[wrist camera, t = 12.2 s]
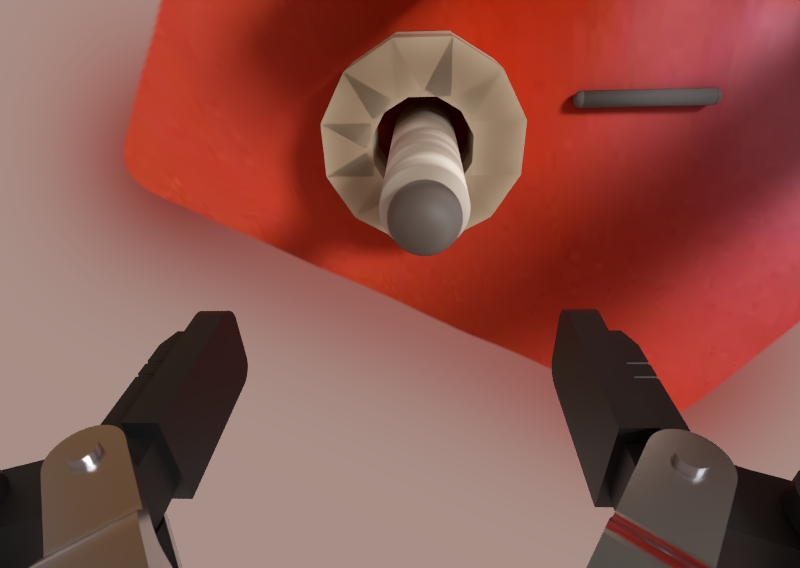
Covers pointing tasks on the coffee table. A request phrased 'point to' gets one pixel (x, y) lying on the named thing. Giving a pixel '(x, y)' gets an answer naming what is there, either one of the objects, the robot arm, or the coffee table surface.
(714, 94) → the dark grey rod
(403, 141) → the grey tipped beige rod
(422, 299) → the coffee table surface
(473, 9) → the coffee table surface
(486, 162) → the bead
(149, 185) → the coffee table surface
